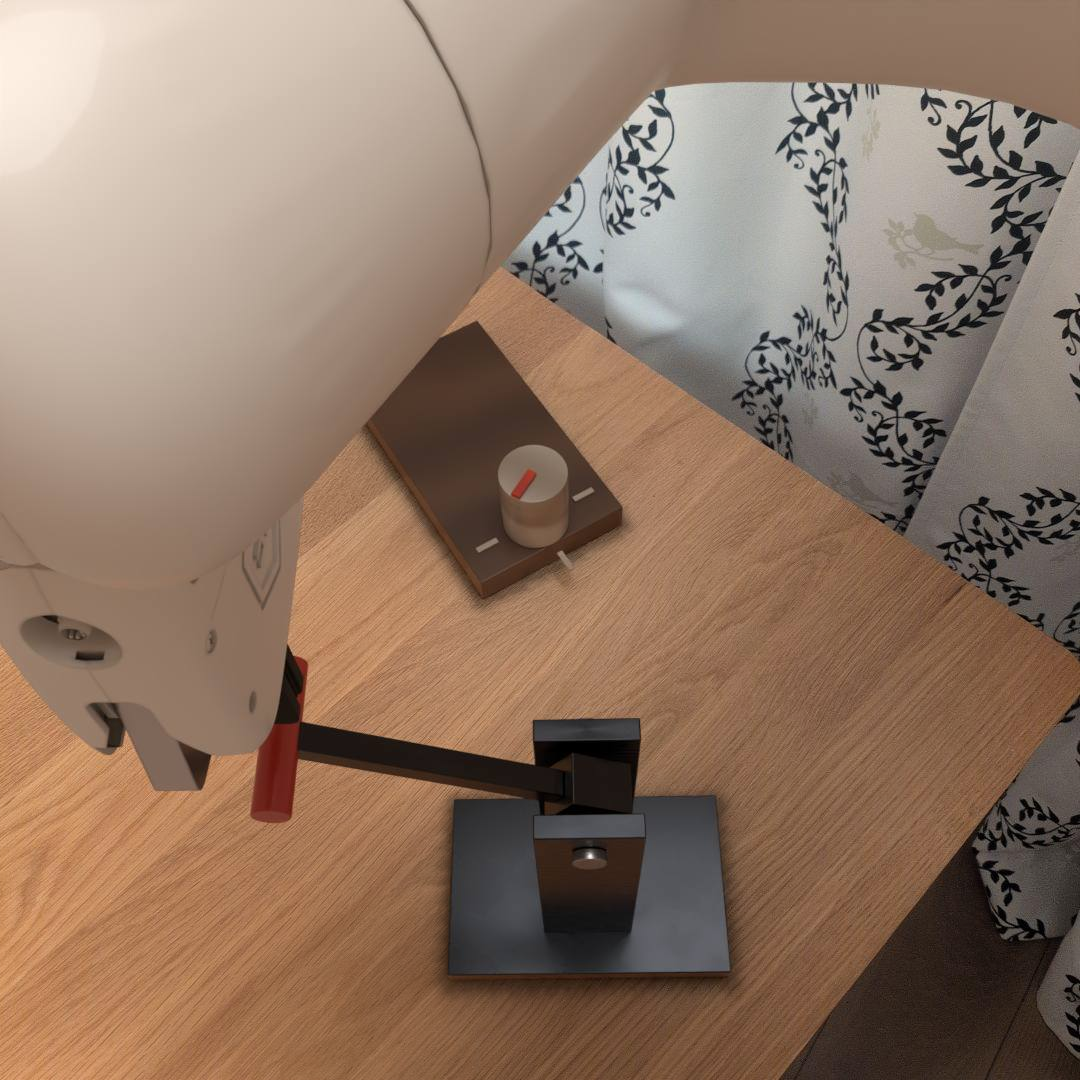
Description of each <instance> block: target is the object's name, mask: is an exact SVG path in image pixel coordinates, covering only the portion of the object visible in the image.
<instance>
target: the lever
mask: <svg viewBox="0 0 1080 1080" xmlns="http://www.w3.org/2000/svg"><path fill="white" fill-rule="evenodd" d="M293 656H294V658H295V660H296V662H297V664H298V666H299V668H300V670H301V672H302V675H303V677H304V681H303V690H302V693H300V694H298V697H297V700H298V702H299V704H300V706H301V708H300V717H299V721H298V722H297V723H294V724H274V725H273V727H272V730H271V732H270V734H269V735H268V737H267V739H266V740H265V741H264V742H263V744H262V745H261V746H260V747H259V748H258V749H257V750H258V751H257V757H256V766H255V773H254V781H253V788H252V796H251V802H250V804H251V805H250V811H249V816H250V818H251V819H253V820H255V821H258V822H261V823H267V824H280V823H286V822H289V821H290V820H291V819H292V817H293V809H294V799H295V793H296V792H295V791H296V780H297V773H298V763H299V760H300V761H307V762H312V763H313V762H314V763H317V764H324V765H329V766H330V765H331V766H334V767H335V766H336V767H342V768H347V769H351V770H352V769H354V770H359V771H364V772H371V773H375V774H383V775H388V776H393V777H394V776H395V777H398V778H399V777H400V778H405V779H411V780H418V781H423V782H427V783H433V784H434V783H435V784H439V785H446V786H451V787H452V786H453V787H458V788H463V789H470V790H475V791H482V792H488V793H492V794H499V795H504V796H510V797H515V798H527V799H533V800H539V801H545V815H563V814H631V813H633V810H632V789H631V768H630V763H626V762H621V761H616V760H610V759H605V758H600V757H595V756H590V755H585V754H579V753H574V752H572V753H570V754H569V755H567V756H566V757H564V758H562V759H561V760H559V761H558V762H556V763H555V764H553V765H552V766H550V767H549V768H548V767H543V766H537V765H535V764H531V763H526V762H521V761H515V760H509V759H504V758H498V757H493V756H489V755H483V754H478V753H472V752H466V751H462V750H456V749H450V748H445V747H440V746H434V745H429V744H423V743H419V742H413V741H407V740H402V739H397V738H391V737H385V736H380V735H375V734H371V733H365V732H358V731H353V730H349V729H344V728H337V727H332V726H328V725H327V726H326V725H321V724H315V723H311V722H304V721H303V719H304V709H305V701H306V692H307V683H308V682H307V681H308V672H309V663H308V661H307V660H306V659H305V658H303V657H300V656H297V655H293Z"/></svg>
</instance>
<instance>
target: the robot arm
mask: <svg viewBox="0 0 1080 1080" xmlns="http://www.w3.org/2000/svg"><path fill="white" fill-rule="evenodd" d="M725 83H781V84H782V83H783V84H784V83H786V84H787V83H788V84H789V83H790V84H791V83H793V84H797V83H798V84H799V83H800V84H802V83H804V84H805V83H806V84H807V83H808V84H852V85H853V84H855V85H857V84H858V85H880V86H881V85H883V86H885V85H886V86H898V87H907V88H917V89H926V90H937V91H947V92H951V93H956V94H961V95H966V96H971V97H976V98H981V99H984V100H985V99H986V100H991V101H996V102H1000V103H1006V104H1010V105H1011V106H1015V107H1018V108H1020V109H1024V110H1027V111H1030V112H1033V113H1035V114H1038V115H1041V116H1045V117H1047V118H1050V119H1053V120H1055V121H1059V122H1062V123H1065V124H1067V125H1070V126H1072V127H1073V128H1075V129H1077V130H1080V0H0V646H1V647H2V648H3V651H4V652H5V653H6V654H7V656H8V658H10V660H11V661H12V663H13V665H14V666H15V667H16V669H17V670H18V671H19V673H20V674H21V675H22V677H23V678H24V679H25V680H26V681H27V683H28V684H29V685H30V687H31V688H32V689H33V691H34V692H35V693H36V694H37V696H38V697H39V698H40V699H41V701H42V702H43V703H44V704H45V705H46V706H47V707H48V708H49V709H50V711H51V712H52V713H53V714H54V715H55V716H56V717H57V718H58V719H59V721H61V723H62V724H63V725H65V727H67V728H68V729H69V730H70V731H71V732H72V733H73V734H74V735H75V736H76V737H77V738H79V739H80V740H81V741H82V742H83V743H85V744H86V745H87V746H88V747H90V748H92V749H93V750H95V751H96V752H98V753H99V754H101V755H104V756H112V755H114V754H115V752H116V751H117V749H118V748H122V747H123V745H124V740H125V736H126V733H127V735H128V738H129V740H130V742H131V743H132V746H133V748H134V750H135V752H136V755H137V757H138V758H139V761H140V763H141V765H142V767H143V770H144V771H145V773H146V775H147V778H148V781H149V782H150V784H151V786H152V788H153V790H154V791H155V792H192V791H193V792H200V791H202V790H203V788H204V786H205V784H206V780H207V777H208V772H209V767H210V765H211V764H210V763H211V759H212V756H215V757H230V756H239V755H248V754H254V753H255V752H256V751H257V750H258V749H259V747H260V746H261V745H262V744H263V742H264V741H265V740H266V739H267V737H268V735H269V734H270V732H271V730H272V727H273V725H274V724H294V723H297V722H298V721H299V717H300V708H301V706H300V704H299V702H298V700H297V697H298V694H300V693H302V690H303V681H304V677H303V675H302V672H301V670H300V668H299V666H298V664H297V662H296V660H295V658H294V656H295V655H294V653H293V652H292V650H291V647H290V645H289V644H288V641H289V633H290V625H291V619H292V617H291V616H292V610H293V601H294V594H295V593H294V592H295V584H296V578H297V577H296V576H297V568H298V559H299V558H298V557H299V550H300V539H301V532H302V522H303V511H304V497H305V495H306V493H307V492H308V491H309V490H310V489H311V487H312V486H313V485H314V484H315V483H316V482H317V481H318V480H319V478H320V477H321V476H322V475H323V473H324V472H325V471H326V470H327V469H328V468H329V466H330V465H331V464H332V463H333V462H334V461H335V460H336V459H337V458H338V457H339V455H340V454H341V453H342V452H343V450H344V449H345V448H346V447H347V446H348V444H349V443H350V442H351V441H352V440H353V439H354V437H355V436H357V434H358V433H359V432H360V431H361V430H362V428H363V427H364V426H365V425H367V424H366V422H367V421H368V420H369V419H370V418H371V417H372V415H373V414H374V413H375V412H376V411H377V410H378V409H379V407H380V406H381V405H382V404H383V403H384V402H385V400H386V399H387V398H388V397H389V396H390V395H391V394H392V392H393V391H394V390H395V389H396V388H397V387H398V385H399V384H400V383H401V382H402V381H403V380H404V379H405V377H406V376H407V375H408V374H409V373H410V372H411V370H412V369H413V368H414V367H415V366H416V365H417V363H418V362H419V361H420V360H421V359H422V358H423V357H424V355H425V354H426V353H427V352H428V351H429V350H430V348H431V347H432V346H433V345H434V344H435V343H436V342H437V340H438V339H439V338H441V337H443V336H444V334H445V332H446V331H447V330H448V329H449V328H450V327H451V326H452V324H453V323H454V322H456V320H457V319H458V318H459V316H460V315H461V314H462V313H463V312H464V311H465V310H466V309H467V307H468V306H469V305H470V303H471V301H472V299H473V297H474V296H475V295H476V294H477V293H478V292H479V291H480V290H481V289H482V288H483V287H484V286H485V285H486V283H487V282H488V281H489V280H490V278H492V276H493V275H494V274H495V273H496V272H497V271H498V270H499V268H500V267H501V266H502V265H503V264H504V263H505V262H506V260H507V259H508V258H509V257H510V256H511V255H512V254H513V253H514V252H515V250H516V249H517V248H518V247H519V246H520V244H521V243H523V241H524V240H525V239H526V238H527V237H528V235H529V234H530V233H531V232H532V231H533V230H534V228H535V227H537V225H538V224H539V222H540V221H541V220H542V219H543V218H544V217H545V216H546V214H547V213H548V212H549V211H550V210H551V208H552V207H553V206H554V205H555V204H556V203H557V202H558V201H559V199H560V198H561V196H563V195H564V193H565V192H566V191H567V190H568V189H569V187H570V186H572V184H573V183H574V182H575V181H576V179H577V178H578V177H579V176H580V175H581V173H583V171H584V170H585V169H586V168H587V167H588V166H589V164H590V163H591V162H592V161H593V160H594V159H595V157H596V156H597V155H598V154H599V153H600V151H601V150H603V148H604V147H605V146H606V144H607V143H608V142H609V141H610V140H611V139H612V138H613V137H614V135H616V133H617V132H618V131H619V130H620V129H621V127H622V126H623V125H624V124H625V123H626V122H627V121H628V120H629V119H630V118H631V117H632V115H633V114H634V113H635V112H636V111H637V110H638V109H639V107H641V105H642V104H643V103H644V102H645V101H646V100H647V99H648V98H649V97H650V95H652V94H653V93H654V92H656V91H660V90H663V89H667V88H674V87H675V88H676V87H682V86H683V87H684V86H691V85H701V84H702V85H704V84H705V85H706V84H725Z"/></svg>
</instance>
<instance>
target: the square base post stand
mask: <svg viewBox="0 0 1080 1080" xmlns="http://www.w3.org/2000/svg"><path fill="white" fill-rule="evenodd" d="M641 743H642V729H641V718H639V717H616V718H610V717H609V718H593V717H579V718H559V719H555V718H554V719H553V718H551V719H548V718H547V719H533V720H532V747H533V757H534V758H533V759H534V765H537V766H543V767H548V768H549V767H550V766H552V765H553V764H555V763H556V762H558V761H559V760H561V759H562V758H564V757H566V756H567V755H569V754H570V753H572V752H574V753H579V754H585V755H590V756H595V757H600V758H605V759H610V760H616V761H621V762H626V763H630V768H631V789H632V810H633V813H631V814H563V815H545V801H539V800H533V799H527V798H521V797H515V798H514V797H513V798H512V797H511V798H508V797H507V798H455V799H453V808H452V809H453V810H452V811H453V813H452V836H451V839H452V840H451V866H450V867H451V868H450V894H449V895H450V897H449V898H450V899H449V924H448V951H447V952H448V953H447V955H448V956H447V976H448V978H449V980H450V981H472V980H473V981H474V980H475V981H476V980H478V981H479V980H481V981H482V980H486V981H487V980H562V979H563V980H564V979H565V980H567V979H568V980H569V979H571V980H572V979H574V980H575V979H648V978H649V979H652V978H653V979H656V978H663V979H665V978H727V977H729V976H730V975H731V972H732V965H731V953H730V943H729V931H728V920H727V919H728V918H727V908H726V907H727V906H726V896H725V885H724V883H725V882H724V872H723V861H722V852H721V838H720V825H719V815H718V806H717V804H718V803H717V796H716V795H714V794H712V795H710V794H709V795H649V796H648V795H647V796H641V795H640V796H636V788H637V779H638V769H639V762H640V753H641V745H642V744H641Z"/></svg>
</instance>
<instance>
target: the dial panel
mask: <svg viewBox="0 0 1080 1080" xmlns="http://www.w3.org/2000/svg"><path fill="white" fill-rule="evenodd" d="M365 425H367V427H368V429H369V430H370V432H371V433H372V435H373V436H374V437H375V439H376V441H377V442H378V444H379V445H380V446H381V448H382V450H383V451H384V453H385V454H386V456H387V457H388V459H389V460H390V462H391V463H392V465H393V466H394V468H395V469H396V471H397V472H398V474H399V475H400V477H401V478H402V480H403V481H404V483H405V484H406V486H407V488H408V489H409V491H410V492H411V493H412V495H413V497H414V498H415V499H416V500H417V502H418V503H419V505H420V506H421V508H422V510H423V511H424V513H425V514H426V515H427V517H428V518H429V520H430V522H431V523H432V524H433V527H434V528H435V529H436V531H437V532H438V534H439V535H440V537H441V538H442V540H443V541H444V543H445V544H446V546H447V547H448V548H449V550H450V552H451V553H452V555H453V556H454V558H455V559H456V561H457V563H458V564H459V565H460V566H461V568H462V570H463V571H464V573H465V574H466V575H467V577H468V580H470V582H471V583H472V585H473V586H474V588H475V589H476V591H477V592H478V594H479V596H480V597H481V598H482V599H483V600H484V599H486V598H488V597H490V596H492V595H494V594H496V593H497V592H499V591H501V590H503V589H505V588H506V587H508V586H510V585H513V584H514V583H516V582H518V581H519V580H522V579H524V578H525V577H526V576H529V575H531V574H532V573H534V572H536V571H539V569H542V568H543V567H546V566H547V565H549V564H551V563H553V562H555V561H557V560H558V559H560V561H561V562H562V564H563V565H564V566H565V568H566V569H567V570H568V572H571V571H573V570H575V566H574V564H573V563H572V562H571V560H570V559H569V558H568V557H567V555H568V554H569V553H571V552H573V551H575V550H577V549H579V548H580V547H582V546H584V545H586V544H587V543H589V542H592V541H594V540H595V539H597V538H599V537H601V536H603V535H605V534H607V533H608V532H610V531H612V530H614V529H616V528H617V527H619V526H621V525H622V523H623V510H624V509H623V506H622V504H621V503H620V501H619V500H618V499H617V498H616V496H615V494H613V492H612V491H611V490H610V489H609V487H608V486H607V485H606V484H605V482H604V481H603V480H602V478H601V477H600V476H599V474H598V473H597V472H596V471H595V470H594V468H593V467H592V466H591V464H590V462H588V460H587V459H586V458H585V457H584V455H583V454H582V452H581V451H580V450H579V449H578V448H577V446H576V445H575V444H574V443H573V441H572V440H571V439H570V438H569V436H568V434H567V433H565V430H564V429H562V427H561V426H560V425H559V423H558V422H557V421H556V420H555V418H554V417H553V415H552V414H551V413H550V411H549V410H548V408H546V407H545V406H544V404H543V403H542V402H541V400H540V399H539V397H538V396H537V394H535V393H534V391H533V390H532V389H531V388H530V386H529V385H528V383H527V382H526V381H525V380H524V378H523V377H522V376H521V375H520V373H519V372H518V370H517V369H516V368H515V367H514V366H513V365H512V363H511V362H510V360H509V359H508V358H507V356H506V355H505V354H504V353H503V352H502V350H501V349H500V347H498V345H497V344H496V343H495V341H494V340H493V338H491V336H490V335H489V333H488V332H487V331H486V330H485V328H484V327H483V326H482V325H481V323H480V322H479V321H478V320H475V321H472V322H471V323H468V324H466V325H464V326H462V327H460V328H458V329H456V330H454V331H452V332H449V333H447V334H445V335H442V336H441V337H440V338H439V339H438V340H437V342H436V343H435V344H434V345H433V346H432V347H431V348H430V350H429V351H428V352H427V353H426V354H425V355H424V357H423V358H422V359H421V360H420V361H419V362H418V363H417V365H416V366H415V367H414V368H413V369H412V370H411V372H410V373H409V374H408V375H407V376H406V377H405V379H404V380H403V381H402V382H401V383H400V384H399V385H398V387H397V388H396V389H395V390H394V391H393V392H392V394H391V395H390V396H389V397H388V398H387V399H386V400H385V402H384V403H383V404H382V405H381V406H380V407H379V409H378V410H377V411H376V412H375V413H374V414H373V415H372V417H371V418H370V419H369V420H368V421H367V422H366V424H365ZM527 445H541V446H545V447H548V448H551V449H553V450H554V451H556V452H557V453H558V454H560V455H561V457H562V458H563V459H564V461H565V462H566V465H567V468H568V495H569V524H568V528H567V530H566V532H565V534H564V535H563V536H562V537H561V538H560V539H559V540H558V541H557V542H555V543H553V544H551V545H549V546H546V547H542V548H529V547H524V546H522V545H519V544H517V543H516V542H514V541H513V540H512V539H511V538H510V537H509V536H508V535H507V533H506V531H505V529H504V526H503V518H502V509H501V500H500V491H499V482H498V469H499V466H500V464H501V462H502V460H503V459H504V458H505V456H506V455H508V454H509V453H510V452H511V451H513V450H515V449H517V448H519V447H522V446H527Z"/></svg>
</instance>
